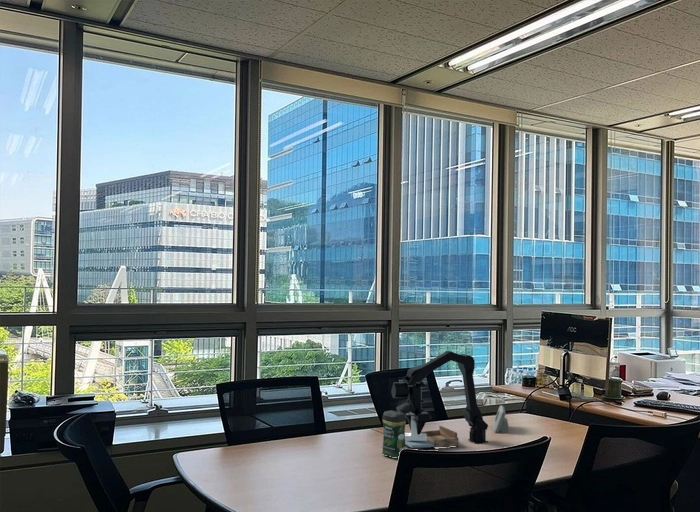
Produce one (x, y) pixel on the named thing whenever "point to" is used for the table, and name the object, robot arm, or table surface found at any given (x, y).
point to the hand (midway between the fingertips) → (415, 432)
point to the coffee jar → (393, 433)
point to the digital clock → (500, 421)
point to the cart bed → (442, 437)
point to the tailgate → (418, 444)
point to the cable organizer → (415, 433)
